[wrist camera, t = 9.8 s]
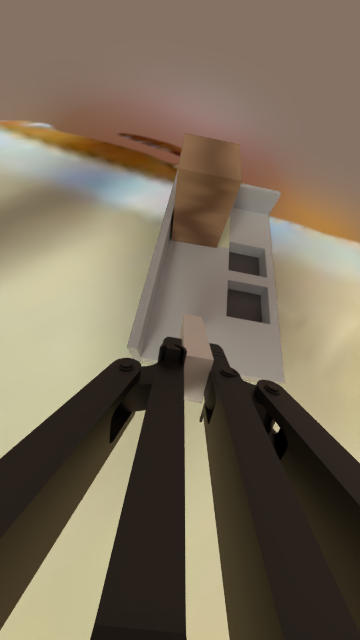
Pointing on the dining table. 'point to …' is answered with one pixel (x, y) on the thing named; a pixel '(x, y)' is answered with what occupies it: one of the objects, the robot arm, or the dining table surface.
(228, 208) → the block
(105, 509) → the dining table surface
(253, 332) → the deck
